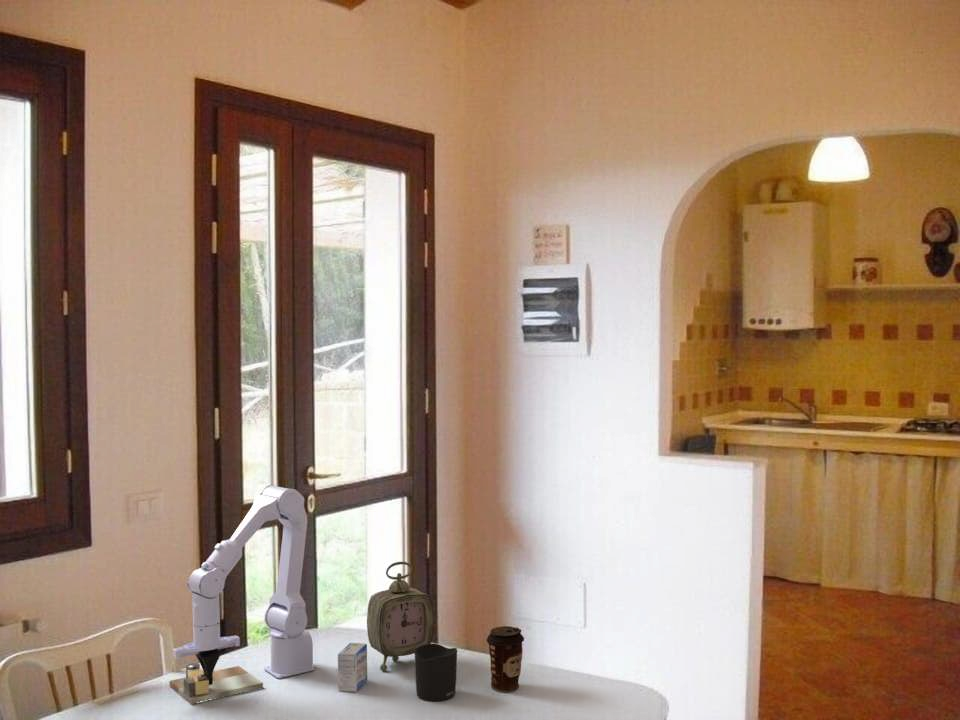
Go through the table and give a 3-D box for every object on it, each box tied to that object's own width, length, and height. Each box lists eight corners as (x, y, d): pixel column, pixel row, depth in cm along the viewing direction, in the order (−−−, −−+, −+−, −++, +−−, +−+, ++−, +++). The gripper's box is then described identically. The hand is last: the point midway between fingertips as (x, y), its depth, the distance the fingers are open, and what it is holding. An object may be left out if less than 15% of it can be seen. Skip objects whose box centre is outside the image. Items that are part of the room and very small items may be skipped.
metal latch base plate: (238, 670, 226) (238, 653, 226) (263, 688, 215) (262, 669, 215) (169, 686, 216) (169, 667, 216) (191, 704, 205) (191, 685, 205)
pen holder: (419, 704, 205) (419, 658, 204) (411, 689, 214) (410, 645, 213) (461, 700, 207) (461, 654, 207) (451, 685, 216) (451, 641, 216)
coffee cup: (530, 684, 216) (530, 627, 216) (516, 696, 209) (516, 638, 209) (495, 678, 220) (495, 623, 220) (480, 690, 213) (480, 633, 212)
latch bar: (184, 678, 216) (184, 662, 216) (198, 676, 217) (198, 660, 217) (195, 695, 206) (195, 678, 206) (209, 692, 207) (209, 676, 207)
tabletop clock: (379, 675, 223) (378, 569, 222) (364, 663, 231) (363, 561, 230) (434, 664, 230) (433, 561, 230) (417, 653, 238) (417, 554, 237)
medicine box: (356, 692, 212) (356, 654, 212) (337, 691, 213) (337, 653, 212) (367, 680, 220) (367, 643, 219) (349, 679, 220) (349, 642, 220)
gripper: (230, 613, 218) (232, 671, 219) (167, 625, 210) (169, 686, 210) (243, 620, 213) (244, 680, 213) (178, 633, 204) (180, 695, 204)
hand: (207, 683), depth 211 cm, fingers closed, pressing on latch bar
